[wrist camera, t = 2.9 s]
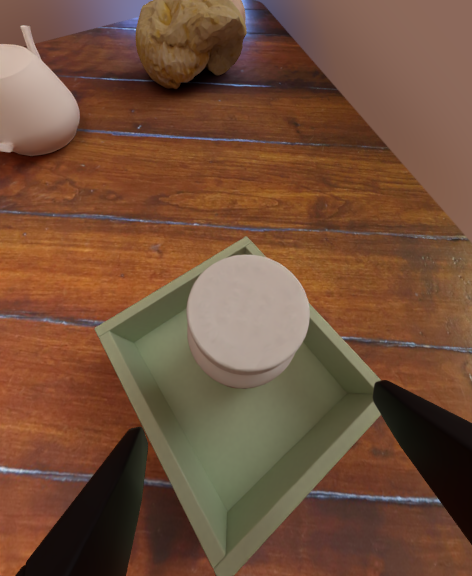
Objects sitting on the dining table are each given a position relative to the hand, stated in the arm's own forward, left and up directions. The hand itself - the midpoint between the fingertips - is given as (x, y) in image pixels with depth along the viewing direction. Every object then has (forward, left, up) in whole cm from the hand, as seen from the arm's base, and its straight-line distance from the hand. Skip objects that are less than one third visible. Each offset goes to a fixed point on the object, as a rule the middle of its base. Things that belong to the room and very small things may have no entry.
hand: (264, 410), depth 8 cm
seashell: (+45, -24, -11) cm, 52 cm away
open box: (+2, -1, -11) cm, 11 cm away
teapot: (+44, +2, -11) cm, 46 cm away
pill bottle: (+3, -2, -10) cm, 11 cm away
